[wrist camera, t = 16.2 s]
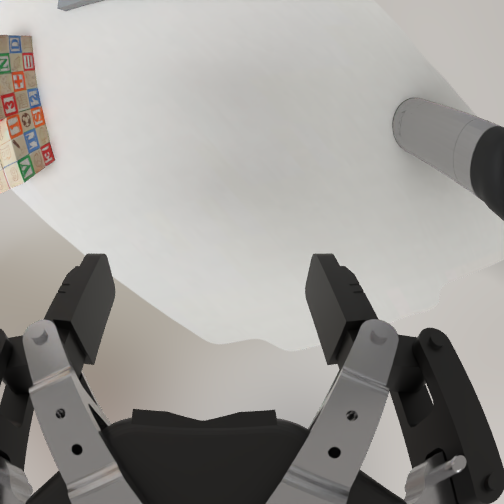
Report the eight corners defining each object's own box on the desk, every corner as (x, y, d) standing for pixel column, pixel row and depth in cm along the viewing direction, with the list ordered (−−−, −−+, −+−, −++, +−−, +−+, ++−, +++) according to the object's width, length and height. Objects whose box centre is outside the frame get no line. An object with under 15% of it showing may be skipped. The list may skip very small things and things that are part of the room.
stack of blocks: (56, 160, 35) (12, 194, 25) (29, 171, 35) (-16, 206, 24) (31, 35, 22) (-21, 35, 12) (3, 53, 22) (-49, 61, 12)
